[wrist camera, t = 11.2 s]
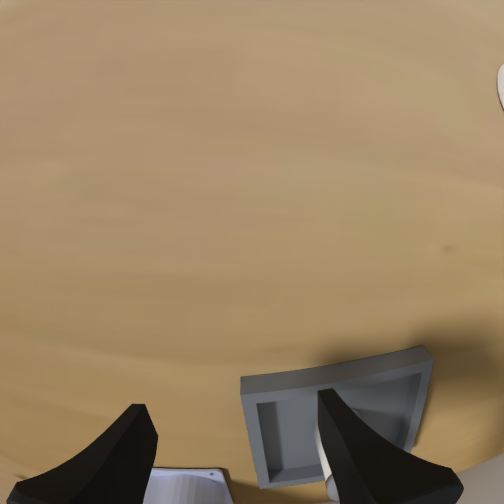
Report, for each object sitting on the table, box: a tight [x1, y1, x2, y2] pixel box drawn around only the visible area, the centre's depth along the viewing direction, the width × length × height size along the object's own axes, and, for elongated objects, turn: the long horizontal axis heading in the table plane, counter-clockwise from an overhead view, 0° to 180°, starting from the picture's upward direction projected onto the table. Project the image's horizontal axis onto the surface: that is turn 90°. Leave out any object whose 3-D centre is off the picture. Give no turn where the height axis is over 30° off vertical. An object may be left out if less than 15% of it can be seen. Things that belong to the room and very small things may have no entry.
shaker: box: [313, 408, 363, 502], centre depth 21 cm, size 5×5×7 cm
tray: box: [240, 345, 434, 489], centre depth 24 cm, size 15×13×2 cm
